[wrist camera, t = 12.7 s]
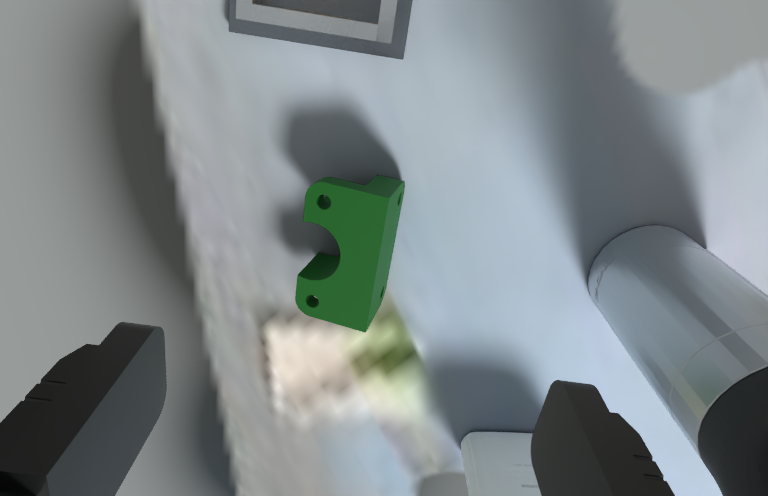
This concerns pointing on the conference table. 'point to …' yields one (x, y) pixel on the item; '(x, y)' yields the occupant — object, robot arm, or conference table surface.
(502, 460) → the white napkin holder
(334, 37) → the grey metal tray
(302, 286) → the clamp
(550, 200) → the conference table surface
